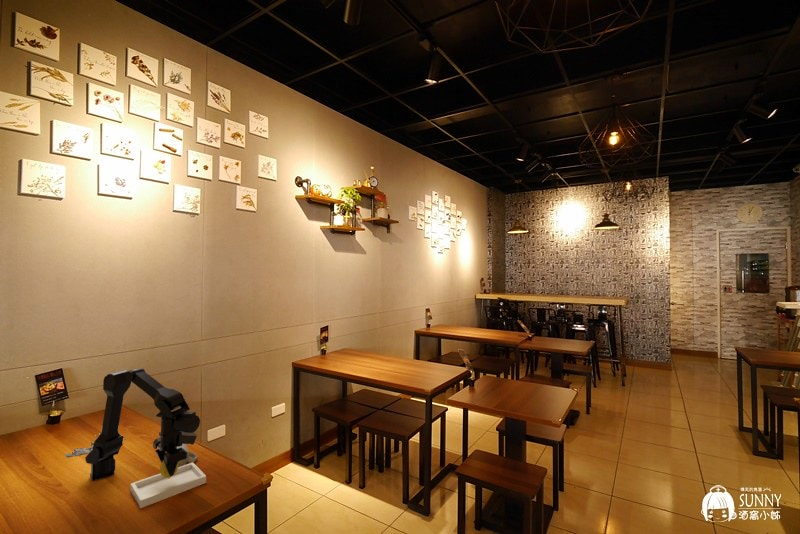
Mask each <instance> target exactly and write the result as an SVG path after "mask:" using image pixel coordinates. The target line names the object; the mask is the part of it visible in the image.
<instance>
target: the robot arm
mask: <svg viewBox="0 0 800 534" xmlns="http://www.w3.org/2000/svg"><path fill="white" fill-rule="evenodd" d="M102 383H103V384H102V386H103V387H102V389H103V391H104V392H105V394H106V402H105V406H104V407H105V408H104V413H103V419H102V425H101V426H102V431H101V434H100V435H99V436H98V438H97V439H96V440H95V442H94V445H93V448H92V451H91V452H90V453H88V454H86V456H85V457H84V458H85V459H84V460H85V463H86V464H90V467H91V468H90V473H89V476H90V479H91V481H92V482H94V481H98V480H102V479H104V478H107V477H110V476H113V475H115V471H116V459H115V457H114V456H116V455H119V452H120V451H121V448H122V447H123V444H124V443H123V438H124V437H123V436H121V435H120V434H119V432H118V427H119V424H120V420H121V415H122V414H121V413H122V408H123V401H124V395H125V394H126V393H127V391H128V390H129V388H130V387H131V384H132V383H133V384H134V385H135V386H136V387H138V388H139V389H140V390H141V391H143V392H144V393H146V394H147V396H149V397H150V398H151V399H152V400H153V404H154V406H155V407H156V409H158V410H159V412H158V413H157V414H156V415H155V416H156V418H160V431H158V435H159V437H158V438H155V440H153V441H152V447H153V449H154V451H155V453H156V456H157V458H158V459H159V461H160V464H161V463H162V462H164V464H165V467H166V469H167V471H168V474H169V476H173V475H174V472H175V469H176V466H177V464H178V461H181V460H184V459H186V458H187V451H186V450H185V449H183V448H178V449H177V447H180V446H182V444H186V445H190V446H193V445H195V442H196V439H197V438H198V435H197V434H196V433H195V432H196V431H197V430H198V429H199V427H200V425H201V418H200V417H199V416H198V415H197V412H196V411H190V406H189V404H188V403H187V401H186V399H185V398H184V395H183V394H182V393H181V392H180V391H178V390H177V389H175V388H168V387H165V386H164V385H163V384H161V383H160V382H159V381H158V380H156V379H155V378H154V377H152V376H151V375H150V374H149V373H147V372H146V370H145V369H144V368H143V367H142V368H141V367H138V368H135V369H131V370H130V369H129V370H127V369H124V370H120V371H116V372H111V373H108V374H107V375H105V376H104V378H103V381H102Z"/></svg>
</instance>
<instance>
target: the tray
mask: <svg viewBox="0 0 800 534" xmlns="http://www.w3.org/2000/svg"><path fill="white" fill-rule="evenodd" d="M206 483H207V475H206V474H205V472H203V471H202V470H201V469H200V468H199V467H198V466H197V465H196V464H195V463H194V462H188V463H186V464H185V465H184V466H181V467H178V470H177V472H176V473H175V474H174V475H173V476H172V477H170V478H169V479H168V478H165V477H163V476H162V475H161V473H160V472H159V473H158V474H155V475H151V476H148V477H147V478H143V479H139V480H137V481H135V482H131V483H130V493H131V495H132V496H133V498H134V500H135V502H136V503H137V505H138V508H139V509H142V508H146V507H147V506H151V505H152V504H155V503H157V502H160V501H162V500H163V501H164V500H165V499H169V498H171V497H173V496H175V495H178V494H182V493H183V492H186V491H189V490H191V489H194V488H196V487H199V486H201V485H203V484H206Z"/></svg>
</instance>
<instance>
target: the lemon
mask: <svg viewBox="0 0 800 534" xmlns="http://www.w3.org/2000/svg"><path fill="white" fill-rule="evenodd" d="M177 470H178V464H177V466H176V469H175V472H174V474H175V473H176V472H177ZM160 473H161V475H162V476H163V477H165V478H168V479H169V478H170V477H172V476H169V474H168V471H167V469H166V467H165V464H164V462H162V463H161V462H160V468H159V474H160Z"/></svg>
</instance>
